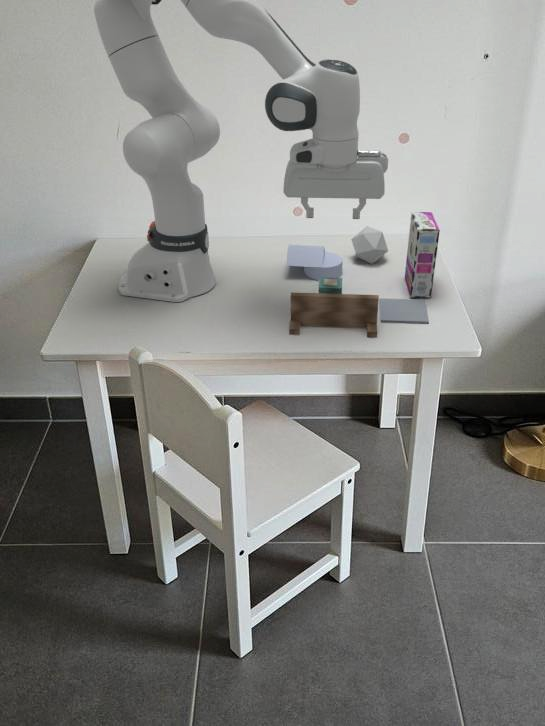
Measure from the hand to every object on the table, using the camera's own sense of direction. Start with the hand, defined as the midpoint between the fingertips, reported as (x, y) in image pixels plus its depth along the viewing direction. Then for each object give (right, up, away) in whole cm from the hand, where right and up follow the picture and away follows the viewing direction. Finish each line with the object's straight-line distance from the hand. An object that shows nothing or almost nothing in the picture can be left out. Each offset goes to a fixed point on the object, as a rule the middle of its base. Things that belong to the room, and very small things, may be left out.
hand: (332, 217), depth 150 cm
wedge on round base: (-2, -8, +27) cm, 28 cm away
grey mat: (+16, -19, +9) cm, 26 cm away
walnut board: (0, -23, +3) cm, 23 cm away
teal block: (0, -18, +11) cm, 21 cm away
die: (+12, -4, +32) cm, 35 cm away
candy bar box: (+21, -13, +19) cm, 31 cm away
